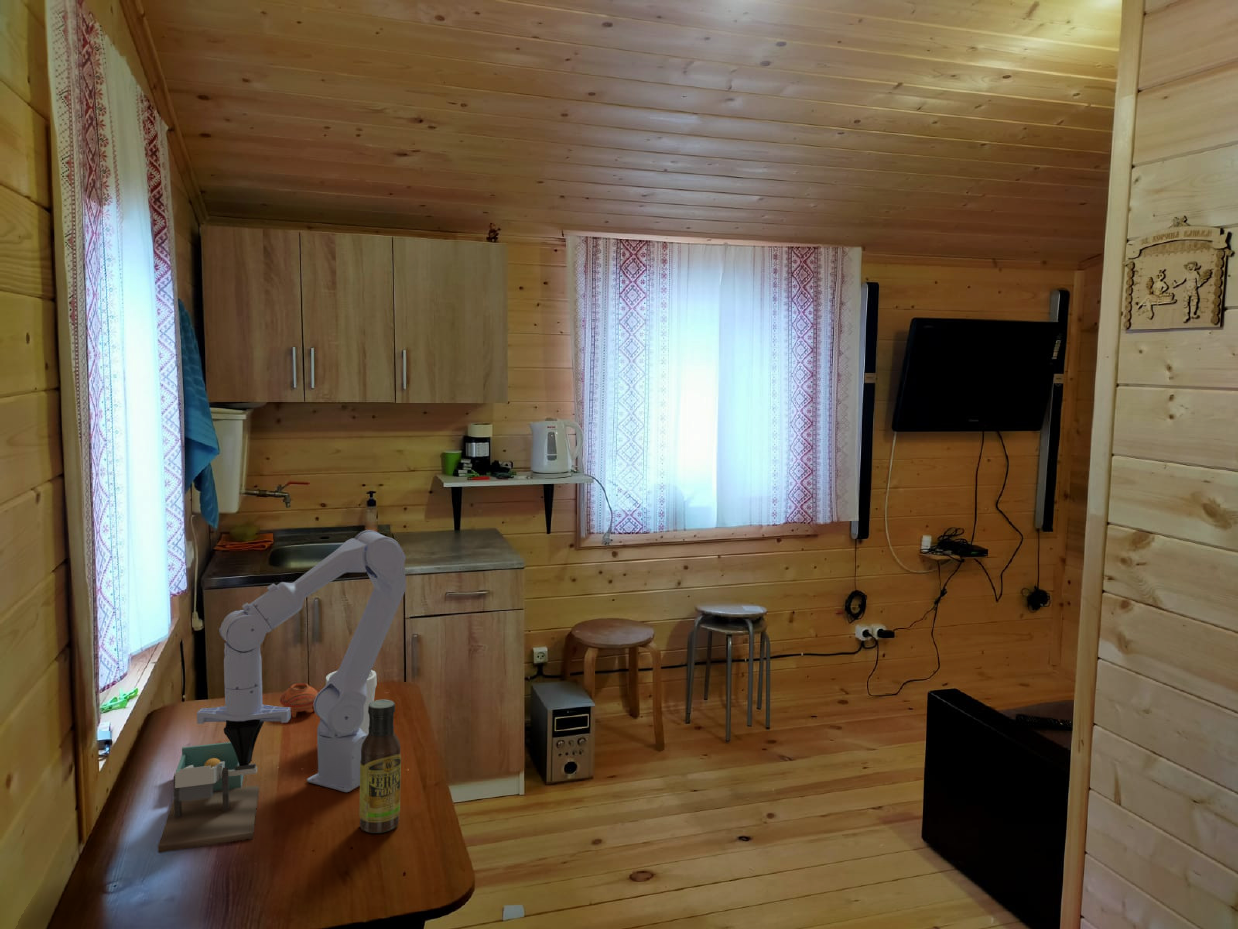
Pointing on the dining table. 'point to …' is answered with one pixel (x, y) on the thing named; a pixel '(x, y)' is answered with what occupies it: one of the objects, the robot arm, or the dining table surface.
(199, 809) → the stand
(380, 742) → the sauce bottle
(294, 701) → the pot
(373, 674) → the foam cup
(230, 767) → the teal open box
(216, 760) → the ball
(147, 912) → the dining table surface
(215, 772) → the tray
